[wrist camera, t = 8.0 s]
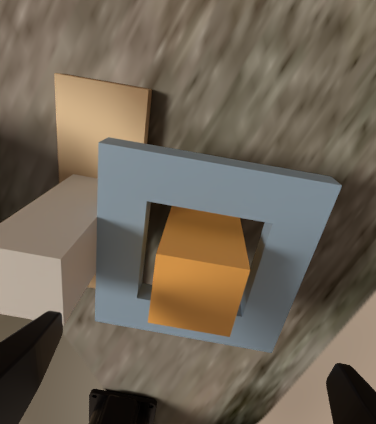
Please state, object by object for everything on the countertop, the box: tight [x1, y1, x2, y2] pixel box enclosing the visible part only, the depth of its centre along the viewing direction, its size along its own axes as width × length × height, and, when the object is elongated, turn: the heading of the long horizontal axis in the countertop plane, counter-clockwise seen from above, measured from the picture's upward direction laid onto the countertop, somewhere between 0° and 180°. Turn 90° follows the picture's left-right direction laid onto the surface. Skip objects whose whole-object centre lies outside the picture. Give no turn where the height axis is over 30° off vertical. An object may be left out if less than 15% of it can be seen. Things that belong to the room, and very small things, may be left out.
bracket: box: [0, 137, 342, 353], centre depth 14 cm, size 10×13×8 cm
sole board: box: [54, 73, 152, 288], centre depth 18 cm, size 14×5×1 cm, turn 171°
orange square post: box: [148, 206, 250, 337], centre depth 15 cm, size 4×4×8 cm
